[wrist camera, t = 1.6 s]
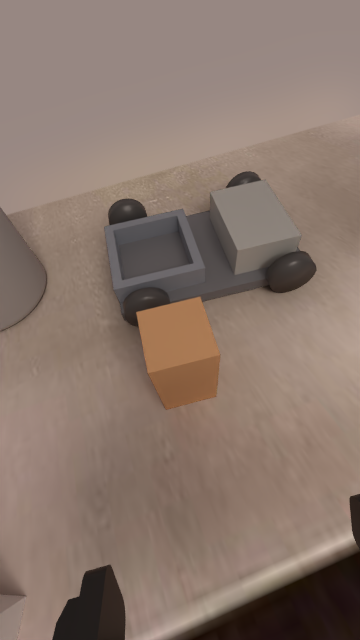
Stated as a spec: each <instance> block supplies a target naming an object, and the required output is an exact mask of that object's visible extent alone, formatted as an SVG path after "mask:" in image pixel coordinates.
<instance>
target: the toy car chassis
mask: <svg viewBox="0 0 360 640" xmlns="http://www.w3.org/2000/svg"><path fill="white" fill-rule="evenodd" d="M108 217H109V224H110V225H109V226H105V227H104V229H105V235H106V242H107V248H108V255H109V262H110V268H111V275H112V282H113V288H114V291H115V294H116V296H117V298H118V300H119V302H120V307H121V313H122V316H123V318H124V320H125V321H127V322H128V323H130V324H132V325H134V326H139V324H138V319H137V314H136V312H139V311H143V310H147V309H151V308H155V307H159V306H163V305H168V304H172V303H176V302H180V301H184V300H188V299H192V298H196V297H201V300H202V302H203V301H207V300H211V299H215V298H219V297H223V296H227V295H231V294H235V293H239V292H243V291H247V290H252V289H256V288H260V287H264V286H268V285H270V287H271V289H272V290H273V291H274V292H277V293H284V292H289V291H292V290H295V289H297V288H299V287H301V286H302V285H304V284H305V283H307V282H308V281H309V280H310V279H311V278H312V277H313V276H314V274H315V272H316V265H315V263H314V262H313V260H312V259H311V257H310V256H309V254H308V253H306V252H304V251H300V250H299V249H298V244H299V242H300V239H301V236H302V235H301V233H300V232H299V230H298V228H297V227H296V225H295V224H294V222H293V221H292V219H291V218H290V216H289V215H288V213H287V212H286V210H285V209H284V207H283V206H282V204H281V203H280V201H279V199H278V198H277V196H276V195H275V193H274V192H273V190H272V189H271V187H270V186H269V184H268V183H267V181H266V180H261V179H260V178H259V176H258V175H257V174H256V173H254V172H250V171H249V172H243V173H240V174H238V175H237V176H235V177H234V178H233V179H232V180H231V181H230V182H229V183H228V185H227V187H226V188H225V189H221V190H217V191H212V192H210V211H206V212H202V213H197V214H193V215H189V216H186V215H185V213H184V210H183V209H179V210H175V211H171V212H166V213H162V214H158V215H153V216H149V217H147V214H146V210H145V208H144V206H143V205H142V204H141V203H140V202H138V201H136V200H134V199H122V200H119V201H117V202H115V203H114V204H113V205H112V206H111V208H110V209H109V213H108Z"/></svg>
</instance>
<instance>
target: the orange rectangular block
mask: <svg viewBox="0 0 360 640" xmlns="http://www.w3.org/2000/svg"><path fill="white" fill-rule="evenodd" d="M136 314H137V319H138V324H139V329H140V335H141V340H142V345H143V350H144V356H145V361H146V366H147V371H148V375H149V377H150V379H151V381H152V383H153V385H154V387H155V389H156V391H157V392H158V394H159V396H160V398H161V400H162V402H163V404H164V406H165V408H166V410H167V409H171V408H174V407H178V406H182V405H186V404H190V403H193V402H197V401H201V400H205V399H208V398H212V397H216V394H217V383H218V373H219V362H220V353H219V350H218V347H217V344H216V341H215V338H214V335H213V332H212V329H211V326H210V323H209V321H208V318H207V315H206V312H205V309H204V306H203V303H202V300H201V297H196V298H192V299H188V300H184V301H180V302H176V303H172V304H168V305H163V306H159V307H155V308H151V309H147V310H143V311H139V312H136Z"/></svg>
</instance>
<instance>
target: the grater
mask: <svg viewBox="0 0 360 640" xmlns="http://www.w3.org/2000/svg"><path fill="white" fill-rule="evenodd" d="M25 601H26V596H17V595H0V640H17V638H18V633H19V628H20V624H21V619H22V615H23V610H24V605H25Z"/></svg>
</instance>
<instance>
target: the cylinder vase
mask: <svg viewBox="0 0 360 640" xmlns="http://www.w3.org/2000/svg"><path fill="white" fill-rule="evenodd" d="M45 286H46V273H45V270H44V267H43V266H42V264H41V262H40V261H39V260H38V258H37V257H36V256H35V254H34V253H33V251H32V250H31V249H30V247H29V246H28V245H27V243H26V242H25V241H24V239H23V238H22V236H21V235H20V234H19V232H18V231H17V230H16V228H15V227H14V225H13V224H12V223H11V221H10V220H9V219H8V217H7V216H6V214H5V213H4V212H3V210H2V209H1V208H0V331H1V330H4V329H6V328H9V327H11V326H13V325H14V324H16V323H18V322H19V321H21V320H22V319H23V318H25V317H26V316H27V315H28V314H29V313H30V312H31V311H32V310H33V309H34V308H35V306H36V305H37V304H38V302H39V301H40V299H41V297H42V295H43V293H44V290H45Z"/></svg>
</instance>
